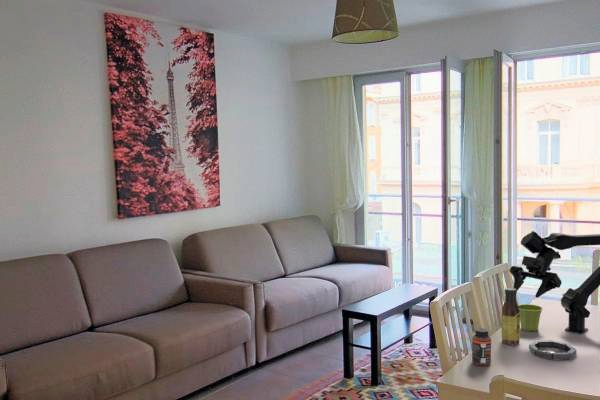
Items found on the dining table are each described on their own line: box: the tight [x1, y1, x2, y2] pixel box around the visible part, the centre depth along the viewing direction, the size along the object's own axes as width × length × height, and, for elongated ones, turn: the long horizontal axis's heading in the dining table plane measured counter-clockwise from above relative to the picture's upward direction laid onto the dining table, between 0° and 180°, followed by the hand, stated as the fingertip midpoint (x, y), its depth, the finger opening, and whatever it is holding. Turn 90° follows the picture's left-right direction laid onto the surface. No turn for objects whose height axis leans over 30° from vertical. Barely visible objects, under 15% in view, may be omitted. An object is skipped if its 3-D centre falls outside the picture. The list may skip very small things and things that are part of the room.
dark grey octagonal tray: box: [528, 339, 577, 361], centre depth 200 cm, size 14×14×2 cm
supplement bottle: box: [471, 327, 492, 367], centre depth 192 cm, size 6×6×11 cm
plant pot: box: [518, 303, 544, 332], centre depth 226 cm, size 9×9×9 cm
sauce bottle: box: [501, 287, 521, 346], centre depth 210 cm, size 7×6×20 cm
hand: (524, 294), depth 214 cm, fingers open, 9 cm apart
